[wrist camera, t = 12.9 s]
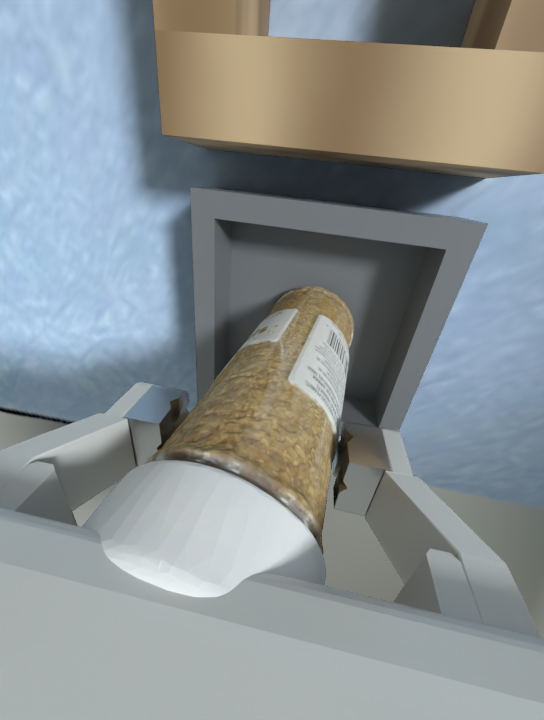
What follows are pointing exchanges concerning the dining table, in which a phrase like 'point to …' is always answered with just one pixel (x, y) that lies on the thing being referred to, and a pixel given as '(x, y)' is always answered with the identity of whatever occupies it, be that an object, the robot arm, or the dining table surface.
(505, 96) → the oak bore block
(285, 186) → the dining table surface
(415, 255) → the tray
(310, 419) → the sprinkles bottle
